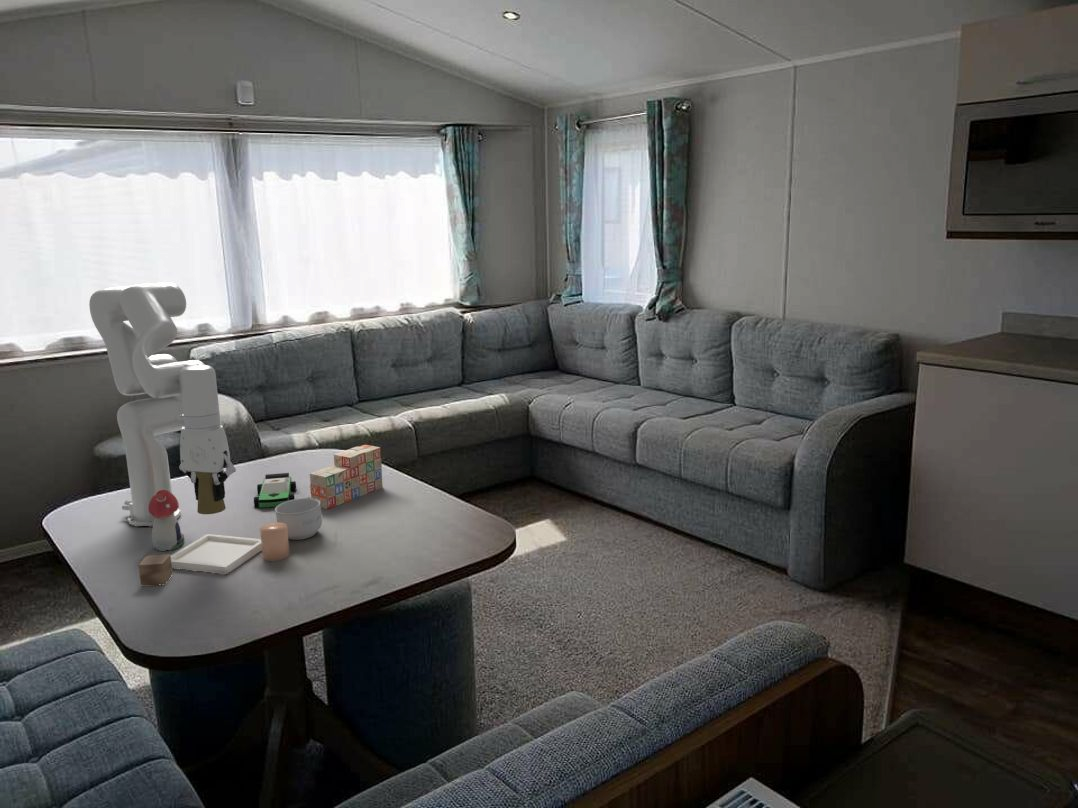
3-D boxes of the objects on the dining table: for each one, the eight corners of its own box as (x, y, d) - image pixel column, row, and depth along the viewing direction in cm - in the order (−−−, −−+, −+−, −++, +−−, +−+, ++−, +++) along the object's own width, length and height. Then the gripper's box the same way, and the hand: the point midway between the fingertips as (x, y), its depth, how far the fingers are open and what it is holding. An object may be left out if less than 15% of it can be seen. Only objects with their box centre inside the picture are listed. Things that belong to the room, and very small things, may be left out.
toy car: (253, 511, 224) (252, 493, 223) (259, 488, 243) (258, 472, 241) (294, 507, 227) (292, 490, 226) (296, 485, 245) (295, 469, 244)
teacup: (310, 545, 201) (308, 513, 199) (269, 542, 203) (266, 510, 201) (335, 524, 214) (333, 494, 212) (296, 521, 216) (293, 491, 214)
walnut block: (141, 586, 180) (138, 564, 179) (149, 576, 185) (146, 555, 183) (165, 585, 180) (162, 563, 179) (172, 575, 185) (170, 554, 184)
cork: (202, 505, 194) (197, 460, 192) (228, 504, 195) (224, 459, 192) (193, 514, 188) (188, 468, 186) (221, 513, 189) (216, 467, 186)
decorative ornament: (173, 554, 196) (166, 493, 193) (145, 554, 196) (138, 493, 193) (190, 538, 205) (183, 480, 202) (163, 539, 205) (156, 480, 202)
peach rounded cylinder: (257, 559, 193) (254, 530, 191) (271, 549, 198) (269, 521, 197) (280, 561, 191) (278, 533, 190) (294, 551, 197) (292, 523, 195)
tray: (163, 567, 189) (162, 560, 188) (207, 540, 204) (207, 533, 203) (226, 574, 185) (225, 567, 184) (266, 546, 200) (265, 539, 199)
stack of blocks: (327, 510, 224) (324, 466, 221) (311, 505, 227) (308, 462, 225) (383, 487, 242) (380, 446, 239) (367, 484, 245) (364, 443, 242)
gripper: (158, 423, 185) (168, 501, 190) (225, 427, 181) (233, 507, 185) (180, 415, 192) (189, 491, 197) (245, 418, 188) (252, 496, 192)
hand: (210, 498), depth 191 cm, fingers closed on cork, 4 cm apart
